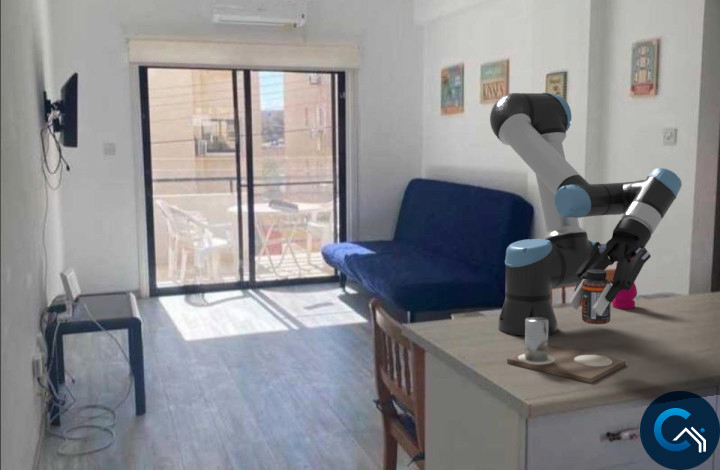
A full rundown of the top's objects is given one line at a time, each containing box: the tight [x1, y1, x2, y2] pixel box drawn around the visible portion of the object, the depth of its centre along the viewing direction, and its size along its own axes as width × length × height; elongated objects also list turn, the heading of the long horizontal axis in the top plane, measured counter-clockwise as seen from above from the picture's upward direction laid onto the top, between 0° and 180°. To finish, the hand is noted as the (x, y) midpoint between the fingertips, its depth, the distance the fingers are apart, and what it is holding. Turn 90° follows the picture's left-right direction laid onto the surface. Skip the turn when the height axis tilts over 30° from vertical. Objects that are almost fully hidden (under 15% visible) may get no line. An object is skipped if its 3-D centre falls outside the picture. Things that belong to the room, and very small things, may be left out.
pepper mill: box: [611, 257, 638, 310], centre depth 207 cm, size 7×7×20 cm
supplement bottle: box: [581, 269, 612, 325], centre depth 152 cm, size 6×6×11 cm
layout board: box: [506, 343, 626, 384], centre depth 156 cm, size 20×16×1 cm
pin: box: [524, 317, 549, 362], centre depth 156 cm, size 5×5×9 cm
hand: (584, 308), depth 151 cm, fingers closed on supplement bottle, 6 cm apart
